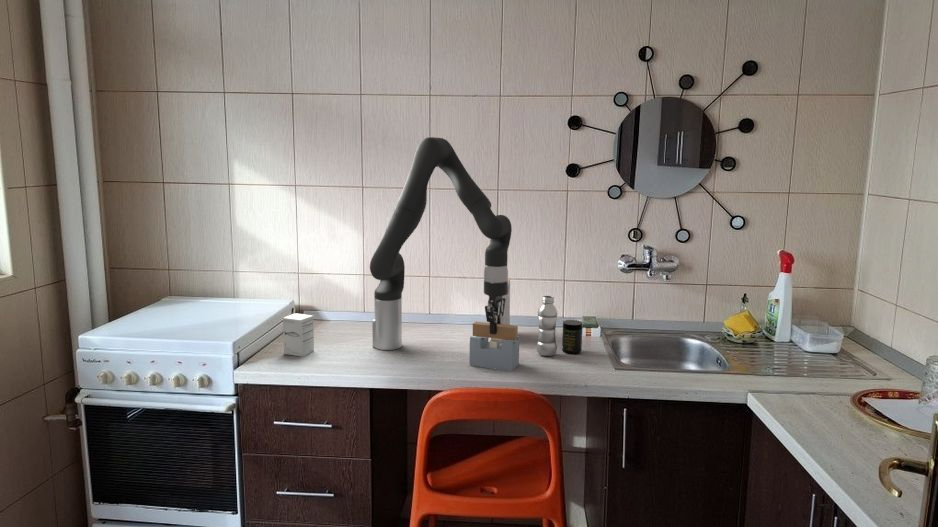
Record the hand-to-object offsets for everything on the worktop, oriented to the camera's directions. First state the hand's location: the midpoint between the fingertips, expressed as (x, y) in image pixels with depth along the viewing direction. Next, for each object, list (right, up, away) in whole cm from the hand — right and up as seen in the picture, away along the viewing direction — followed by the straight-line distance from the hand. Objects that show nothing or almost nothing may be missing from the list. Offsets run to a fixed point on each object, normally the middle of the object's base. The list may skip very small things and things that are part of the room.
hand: (495, 332), depth 218 cm
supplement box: (-65, -8, +11) cm, 66 cm away
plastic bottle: (+18, -9, +12) cm, 23 cm away
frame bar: (0, -1, 0) cm, 2 cm away
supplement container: (+27, -9, +16) cm, 32 cm away
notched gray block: (0, -10, +2) cm, 11 cm away
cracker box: (+3, -5, +32) cm, 33 cm away
